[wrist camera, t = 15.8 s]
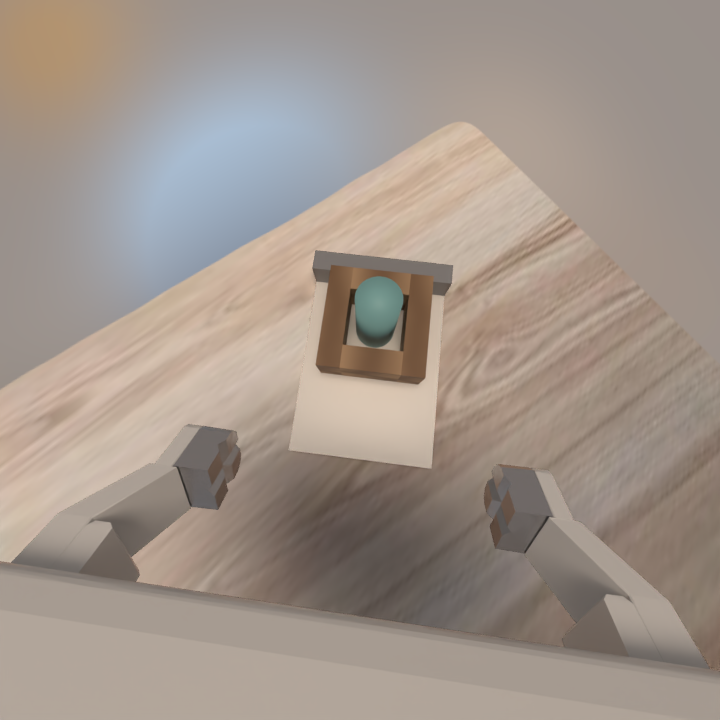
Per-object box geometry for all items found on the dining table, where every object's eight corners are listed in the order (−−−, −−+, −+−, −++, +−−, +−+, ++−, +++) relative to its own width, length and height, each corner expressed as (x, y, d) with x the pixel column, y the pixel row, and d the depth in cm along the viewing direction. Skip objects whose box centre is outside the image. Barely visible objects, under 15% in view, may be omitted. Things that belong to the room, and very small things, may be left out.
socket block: (426, 293, 36) (433, 276, 32) (418, 384, 34) (425, 378, 30) (334, 283, 36) (331, 264, 32) (320, 372, 34) (315, 364, 30)
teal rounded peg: (395, 313, 35) (405, 278, 28) (392, 349, 34) (401, 324, 27) (358, 309, 35) (357, 274, 28) (354, 345, 35) (352, 319, 27)
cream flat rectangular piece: (443, 283, 37) (452, 265, 33) (429, 467, 33) (438, 472, 29) (320, 269, 38) (315, 250, 34) (290, 449, 33) (281, 451, 29)
